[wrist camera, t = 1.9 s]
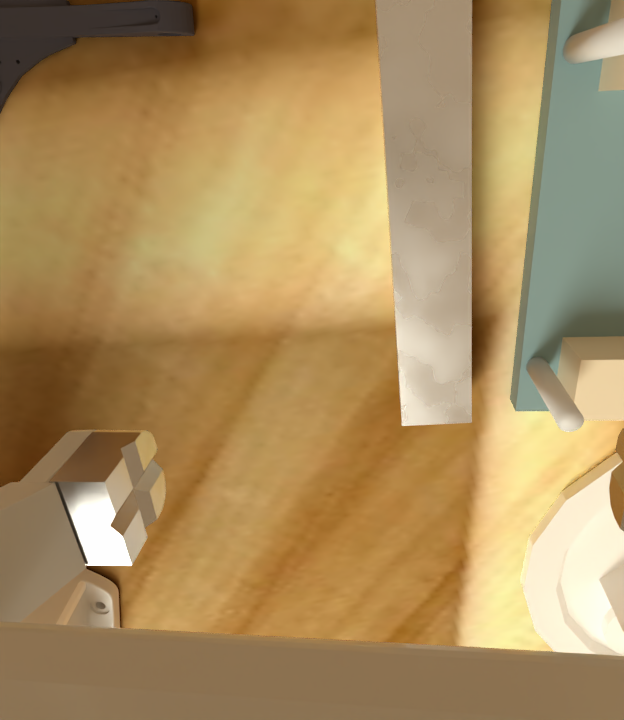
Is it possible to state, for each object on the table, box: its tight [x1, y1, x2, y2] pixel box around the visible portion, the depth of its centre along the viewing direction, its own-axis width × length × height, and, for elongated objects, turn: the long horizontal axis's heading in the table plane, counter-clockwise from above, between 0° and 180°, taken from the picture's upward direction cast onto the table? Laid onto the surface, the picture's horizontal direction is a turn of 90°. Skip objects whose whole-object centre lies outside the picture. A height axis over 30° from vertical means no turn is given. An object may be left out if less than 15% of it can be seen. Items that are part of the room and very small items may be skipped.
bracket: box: [0, 0, 195, 113], centre depth 27 cm, size 14×15×3 cm
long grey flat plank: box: [375, 0, 472, 426], centre depth 29 cm, size 22×4×4 cm, turn 7°
